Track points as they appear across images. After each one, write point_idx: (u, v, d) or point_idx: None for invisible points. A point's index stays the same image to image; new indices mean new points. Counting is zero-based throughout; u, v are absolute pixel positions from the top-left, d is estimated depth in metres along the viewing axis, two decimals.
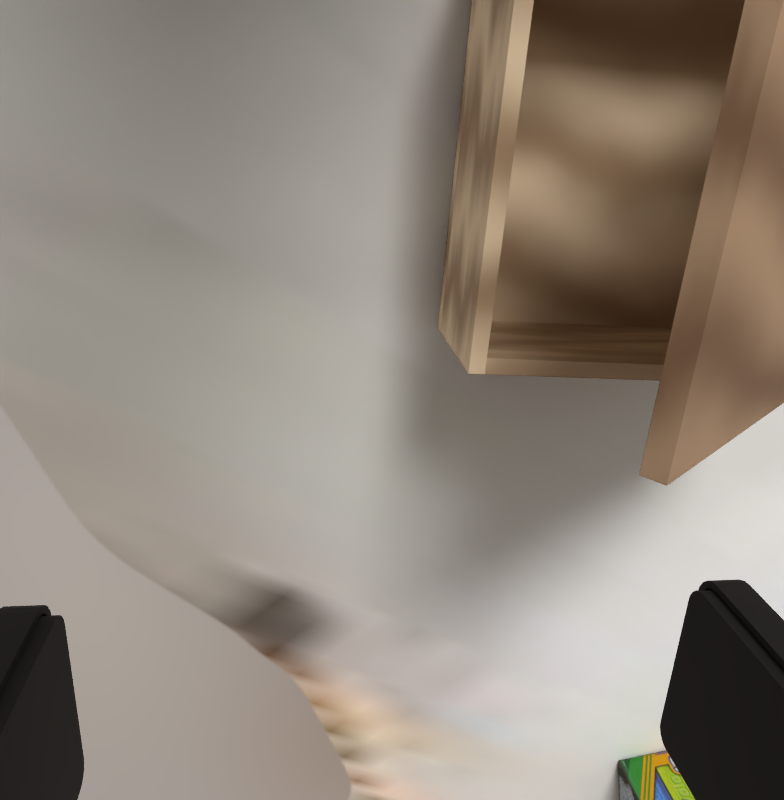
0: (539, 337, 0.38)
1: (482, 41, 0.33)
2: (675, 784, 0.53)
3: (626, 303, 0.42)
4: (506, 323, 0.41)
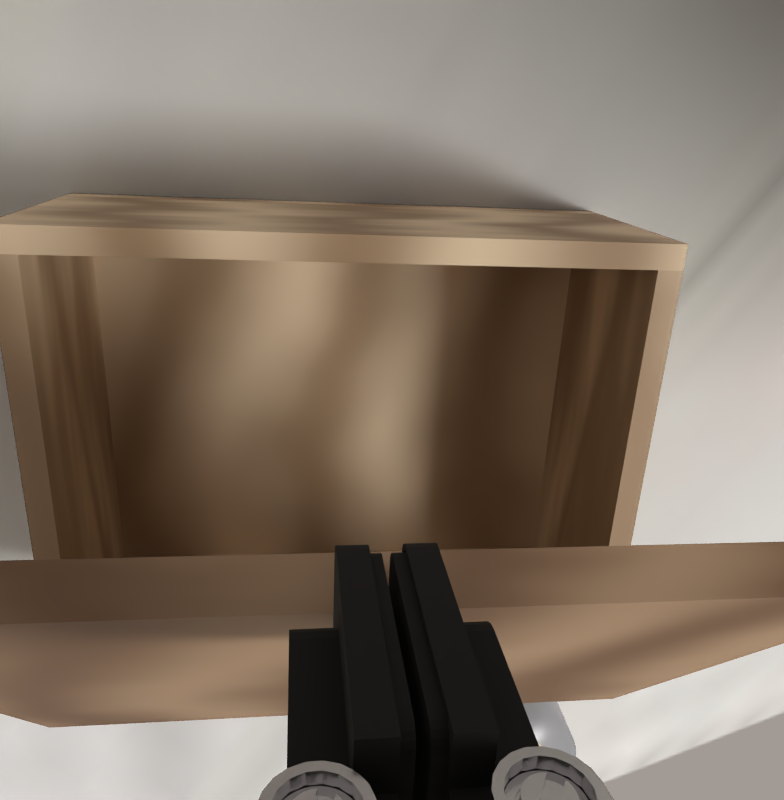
0: (76, 346, 0.25)
1: (476, 217, 0.26)
2: None
3: (148, 463, 0.30)
4: (93, 298, 0.27)
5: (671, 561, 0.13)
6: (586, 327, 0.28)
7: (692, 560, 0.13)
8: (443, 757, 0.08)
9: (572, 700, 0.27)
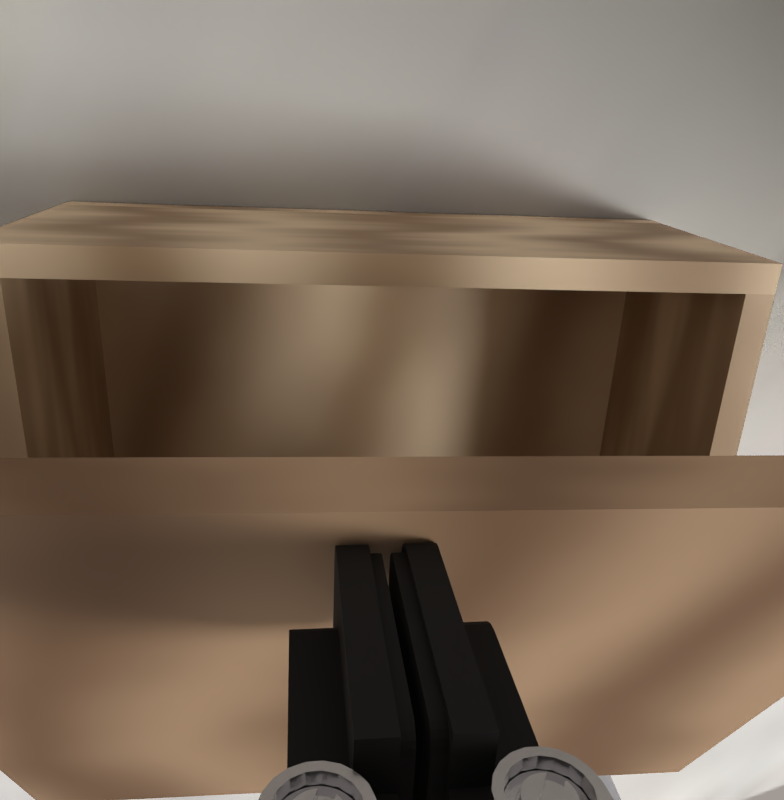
0: (72, 375, 0.22)
1: (526, 229, 0.22)
2: None
3: None
4: (93, 318, 0.24)
5: (743, 471, 0.12)
6: (648, 352, 0.24)
7: (766, 470, 0.12)
8: (443, 757, 0.08)
9: (632, 773, 0.24)
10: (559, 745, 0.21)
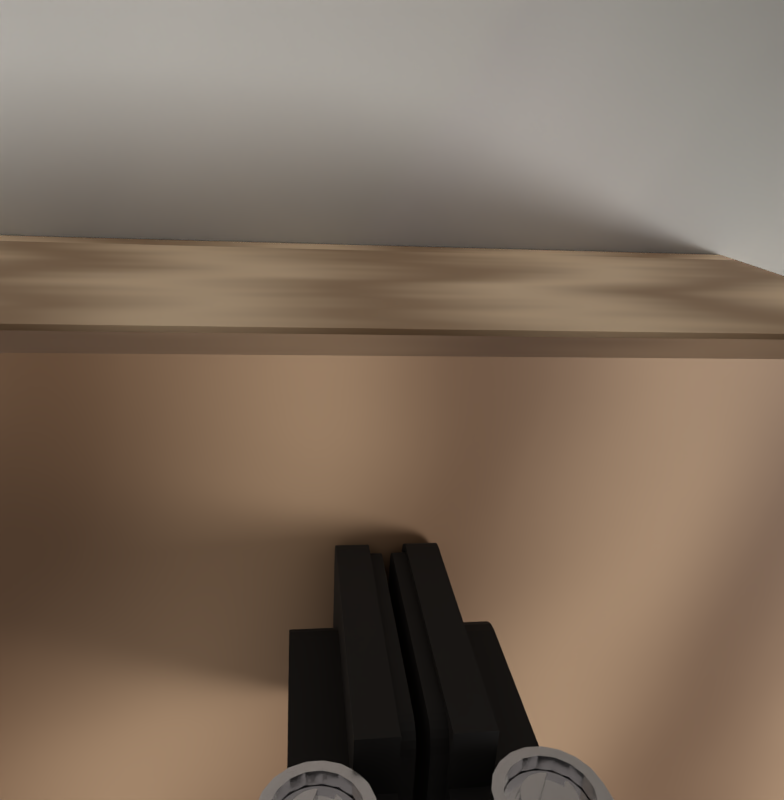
0: None
1: (573, 274, 0.16)
2: None
3: None
4: None
5: (716, 344, 0.12)
6: None
7: (739, 344, 0.12)
8: (443, 757, 0.08)
9: None
10: None
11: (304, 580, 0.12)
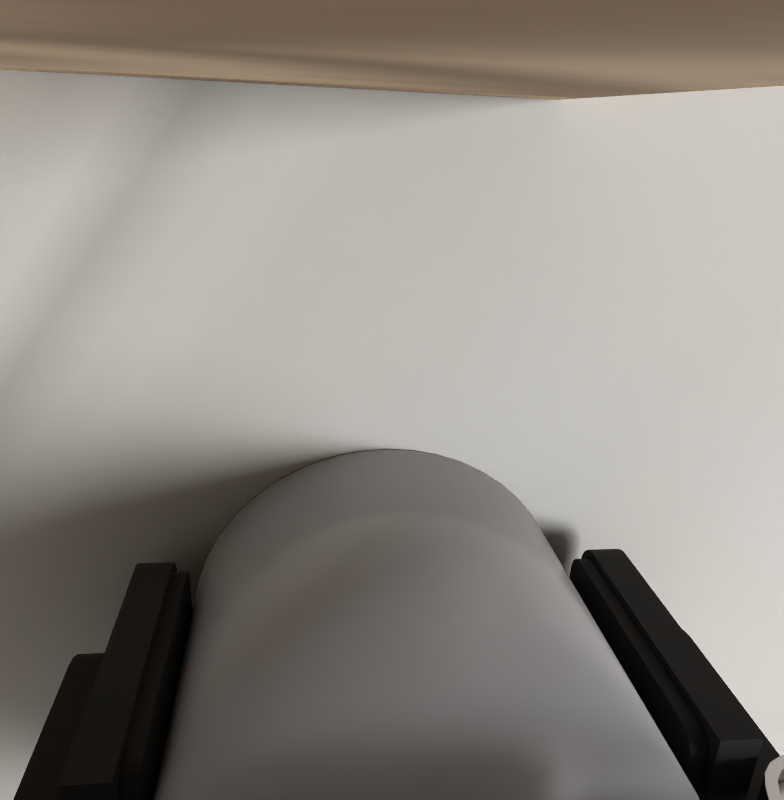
0: None
1: None
2: None
3: None
4: None
5: None
6: None
7: None
8: (701, 764, 0.08)
9: None
10: None
11: None
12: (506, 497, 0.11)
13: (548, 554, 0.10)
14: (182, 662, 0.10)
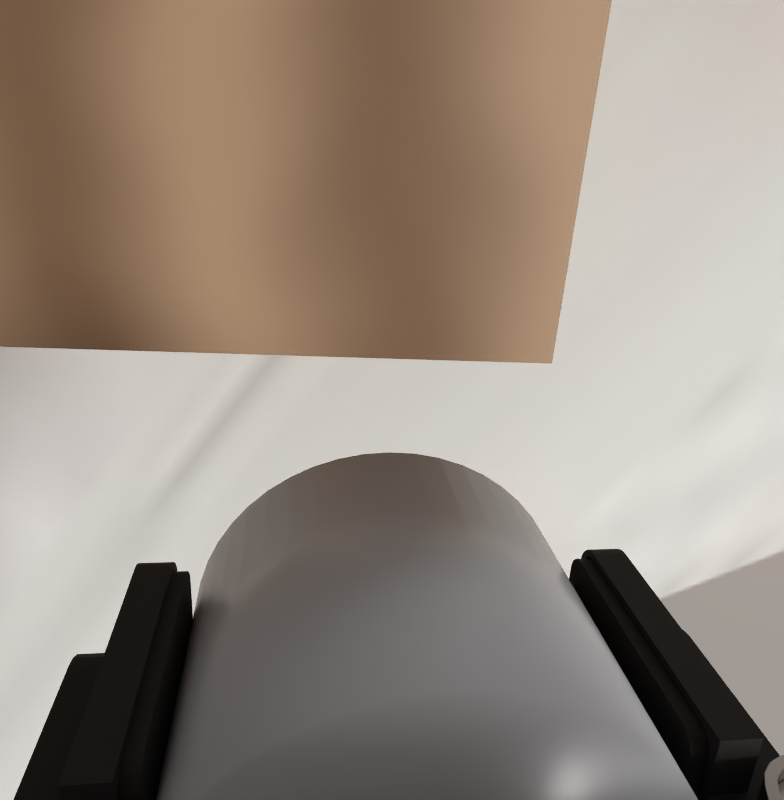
0: None
1: None
2: None
3: None
4: None
5: None
6: None
7: None
8: (701, 764, 0.08)
9: (486, 357, 0.17)
10: (348, 189, 0.15)
11: None
12: (507, 500, 0.11)
13: (548, 557, 0.10)
14: (184, 665, 0.10)
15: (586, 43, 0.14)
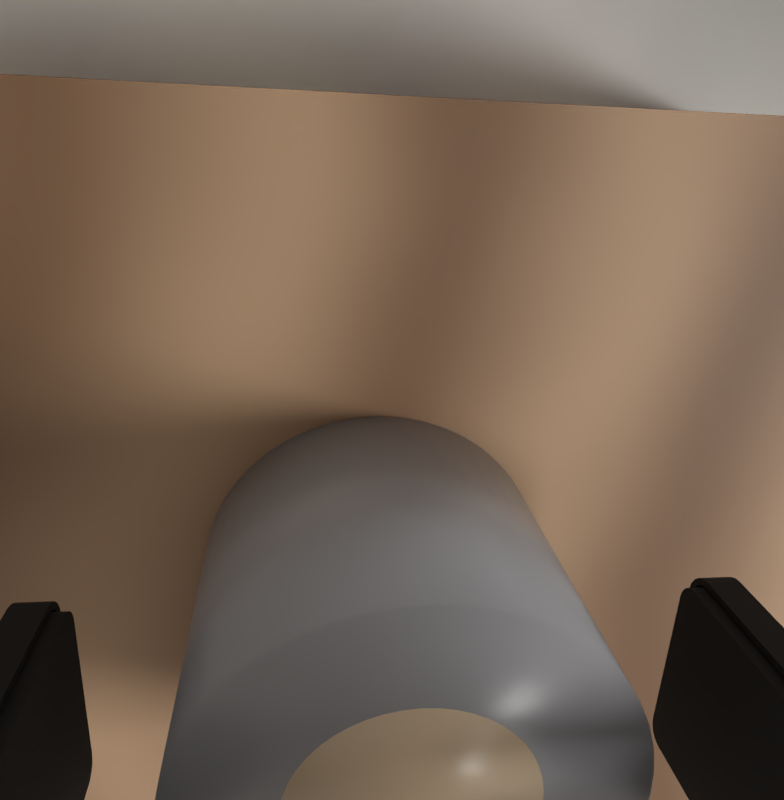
0: None
1: None
2: None
3: None
4: None
5: None
6: None
7: None
8: None
9: None
10: None
11: (287, 347, 0.12)
12: (486, 460, 0.12)
13: (522, 508, 0.11)
14: (195, 602, 0.11)
15: None
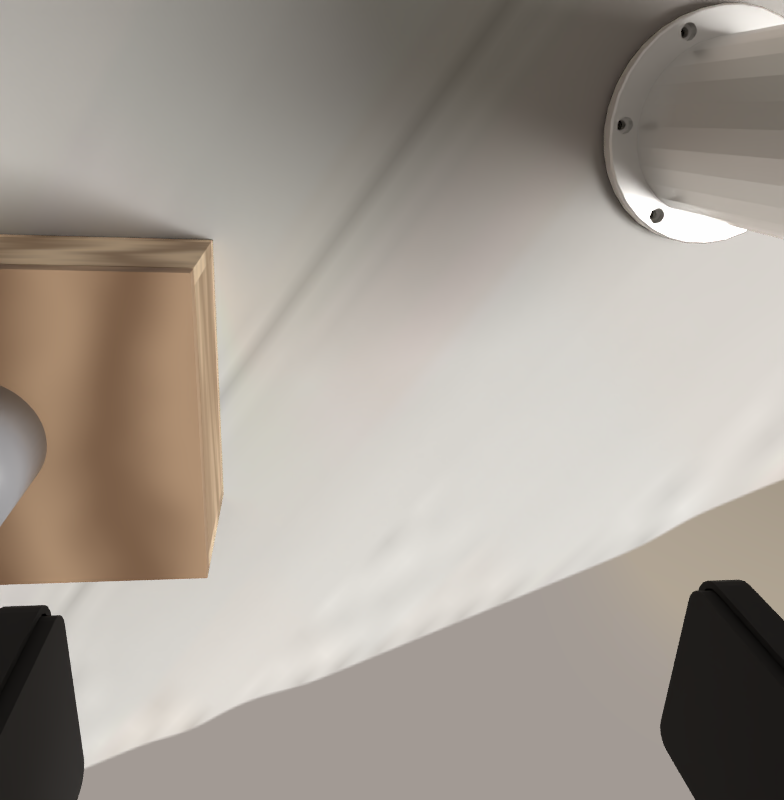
0: None
1: (95, 247, 0.37)
2: None
3: None
4: None
5: (75, 267, 0.32)
6: None
7: (85, 267, 0.32)
8: None
9: (175, 577, 0.38)
10: (100, 519, 0.36)
11: None
12: (6, 394, 0.32)
13: (5, 409, 0.31)
14: None
15: (193, 462, 0.35)
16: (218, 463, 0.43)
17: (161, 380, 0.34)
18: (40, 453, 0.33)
